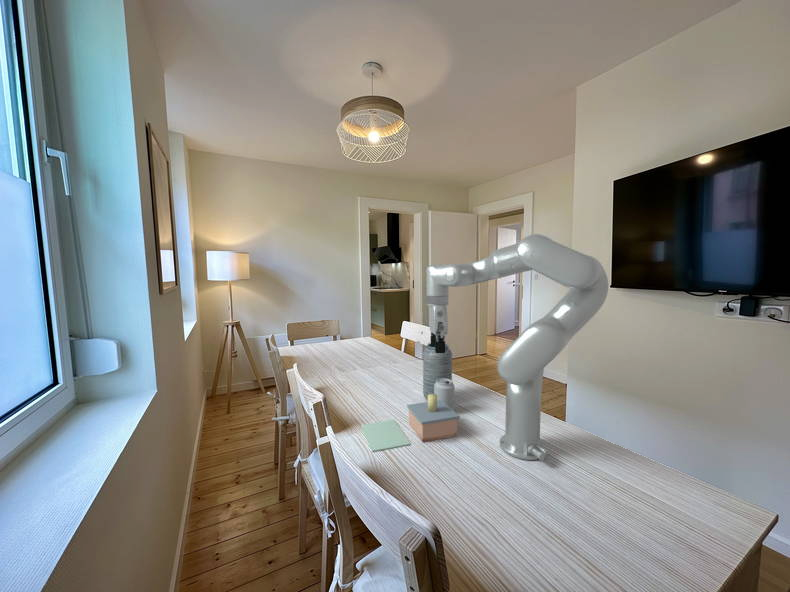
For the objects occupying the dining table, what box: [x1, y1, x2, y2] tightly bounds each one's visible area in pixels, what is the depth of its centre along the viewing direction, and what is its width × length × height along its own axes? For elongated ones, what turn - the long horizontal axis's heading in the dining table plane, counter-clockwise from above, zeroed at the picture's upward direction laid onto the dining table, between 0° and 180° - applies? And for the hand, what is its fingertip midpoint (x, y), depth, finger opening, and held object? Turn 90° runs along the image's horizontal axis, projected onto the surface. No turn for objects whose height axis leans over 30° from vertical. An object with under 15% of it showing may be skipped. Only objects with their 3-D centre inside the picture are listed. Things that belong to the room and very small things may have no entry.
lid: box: [406, 394, 461, 425], centre depth 102 cm, size 13×13×6 cm
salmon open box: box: [408, 409, 458, 443], centre depth 102 cm, size 12×12×6 cm
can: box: [434, 378, 455, 412], centre depth 115 cm, size 8×8×12 cm
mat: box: [360, 419, 412, 453], centre depth 99 cm, size 16×12×1 cm
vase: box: [422, 342, 453, 402], centre depth 125 cm, size 12×12×23 cm
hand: (437, 349), depth 107 cm, fingers open, 9 cm apart
